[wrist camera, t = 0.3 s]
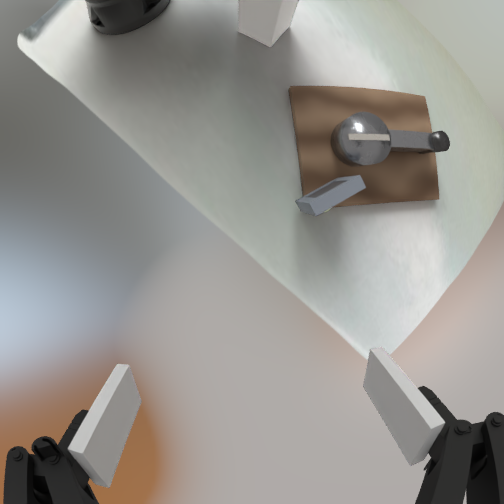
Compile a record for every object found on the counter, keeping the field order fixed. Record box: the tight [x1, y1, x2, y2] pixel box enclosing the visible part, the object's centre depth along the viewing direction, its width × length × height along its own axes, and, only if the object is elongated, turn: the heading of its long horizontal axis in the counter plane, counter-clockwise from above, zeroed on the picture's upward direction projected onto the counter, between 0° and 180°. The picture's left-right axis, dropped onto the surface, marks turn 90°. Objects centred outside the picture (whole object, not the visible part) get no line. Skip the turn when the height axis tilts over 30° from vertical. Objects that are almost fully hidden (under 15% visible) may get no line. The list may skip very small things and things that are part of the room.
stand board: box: [289, 86, 439, 207], centre depth 37 cm, size 18×24×2 cm
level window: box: [295, 175, 366, 216], centre depth 34 cm, size 3×7×8 cm, turn 120°
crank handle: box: [331, 112, 450, 167], centre depth 33 cm, size 18×7×6 cm, turn 97°
